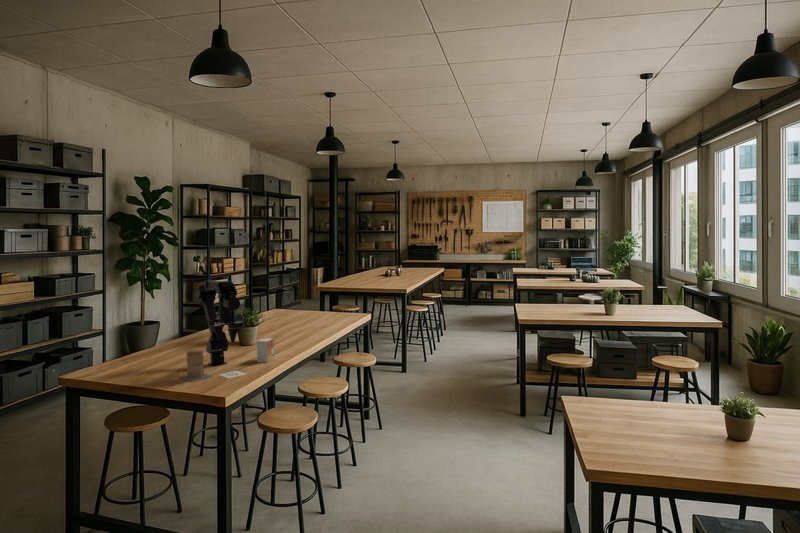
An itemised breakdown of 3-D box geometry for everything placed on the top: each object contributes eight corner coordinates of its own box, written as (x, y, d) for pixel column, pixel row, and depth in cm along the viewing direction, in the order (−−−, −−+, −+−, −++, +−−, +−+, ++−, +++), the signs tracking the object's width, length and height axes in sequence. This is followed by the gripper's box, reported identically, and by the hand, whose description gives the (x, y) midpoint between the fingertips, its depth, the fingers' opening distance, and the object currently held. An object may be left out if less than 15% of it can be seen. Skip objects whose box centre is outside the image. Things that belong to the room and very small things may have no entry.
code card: (218, 374, 232) (218, 374, 232) (237, 371, 238) (237, 370, 238) (227, 378, 225) (227, 378, 225) (246, 374, 232) (246, 374, 232)
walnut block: (190, 375, 230) (189, 350, 229) (203, 374, 230) (203, 349, 230) (187, 378, 224) (186, 353, 223) (201, 377, 225) (200, 352, 224)
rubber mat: (178, 378, 226) (178, 377, 226) (199, 373, 234) (199, 372, 234) (192, 382, 220) (192, 380, 220) (212, 376, 228) (212, 375, 228)
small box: (267, 362, 253) (267, 341, 253) (257, 362, 254) (256, 341, 254) (274, 358, 261) (274, 338, 260) (264, 358, 262) (263, 337, 262)
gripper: (252, 307, 241) (253, 340, 242) (227, 304, 252) (229, 336, 253) (232, 310, 232) (233, 344, 233) (207, 307, 243) (208, 340, 244)
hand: (226, 341), depth 241 cm, fingers open, 9 cm apart
